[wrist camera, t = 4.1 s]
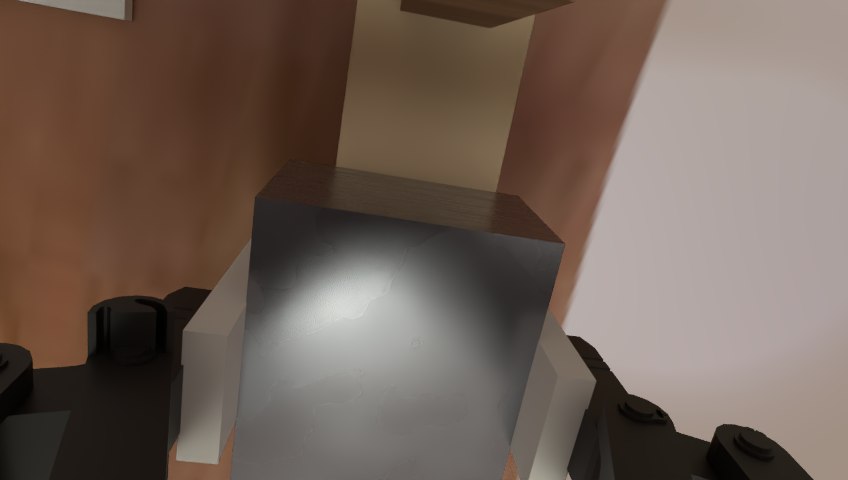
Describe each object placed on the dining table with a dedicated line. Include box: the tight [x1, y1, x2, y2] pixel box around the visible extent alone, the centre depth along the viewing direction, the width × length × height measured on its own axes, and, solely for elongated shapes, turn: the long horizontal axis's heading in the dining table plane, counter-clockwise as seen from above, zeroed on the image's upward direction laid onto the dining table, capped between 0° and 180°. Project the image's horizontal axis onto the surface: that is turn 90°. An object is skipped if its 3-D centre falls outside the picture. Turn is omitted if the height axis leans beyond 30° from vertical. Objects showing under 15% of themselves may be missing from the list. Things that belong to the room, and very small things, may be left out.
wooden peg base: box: [336, 0, 575, 192], centre depth 16 cm, size 26×5×13 cm, turn 170°
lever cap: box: [230, 159, 565, 480], centre depth 13 cm, size 7×6×4 cm
